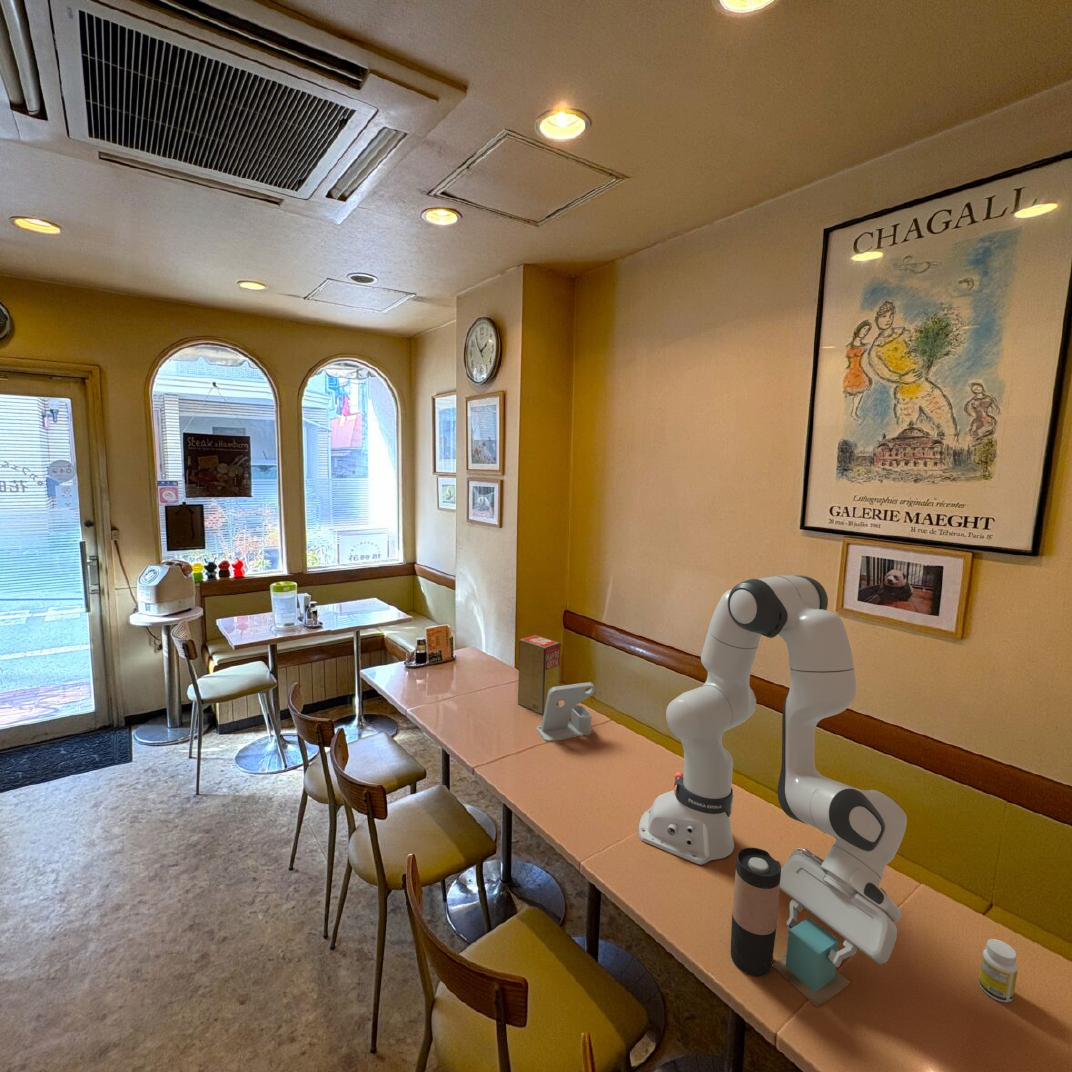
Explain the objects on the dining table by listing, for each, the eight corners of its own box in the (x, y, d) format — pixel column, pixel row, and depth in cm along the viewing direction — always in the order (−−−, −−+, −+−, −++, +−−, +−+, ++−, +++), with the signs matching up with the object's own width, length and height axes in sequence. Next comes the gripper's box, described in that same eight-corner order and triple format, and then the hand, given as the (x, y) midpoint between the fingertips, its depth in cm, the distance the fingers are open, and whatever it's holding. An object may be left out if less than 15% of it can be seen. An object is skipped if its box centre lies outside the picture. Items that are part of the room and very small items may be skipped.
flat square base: (772, 966, 103) (775, 934, 103) (803, 945, 108) (806, 915, 107) (818, 1007, 96) (821, 973, 95) (849, 983, 100) (852, 951, 99)
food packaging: (560, 707, 209) (561, 642, 205) (542, 715, 202) (544, 648, 199) (533, 696, 218) (535, 634, 214) (516, 704, 211) (517, 639, 208)
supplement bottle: (997, 978, 102) (1003, 936, 101) (1020, 1003, 97) (1027, 960, 96) (971, 978, 102) (977, 936, 101) (993, 1003, 97) (1000, 960, 96)
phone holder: (581, 721, 199) (582, 672, 196) (594, 734, 189) (596, 683, 187) (535, 728, 192) (536, 678, 190) (546, 742, 183) (547, 689, 181)
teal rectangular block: (785, 966, 103) (788, 929, 102) (805, 953, 106) (808, 917, 105) (814, 992, 98) (818, 954, 97) (835, 978, 101) (839, 940, 100)
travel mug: (728, 969, 103) (735, 869, 100) (729, 937, 110) (736, 842, 107) (773, 984, 100) (782, 881, 97) (772, 949, 107) (780, 853, 104)
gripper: (791, 836, 112) (754, 899, 108) (900, 908, 94) (861, 986, 91) (803, 849, 115) (768, 911, 111) (912, 921, 97) (873, 997, 94)
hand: (810, 945), depth 101 cm, fingers open, 7 cm apart
